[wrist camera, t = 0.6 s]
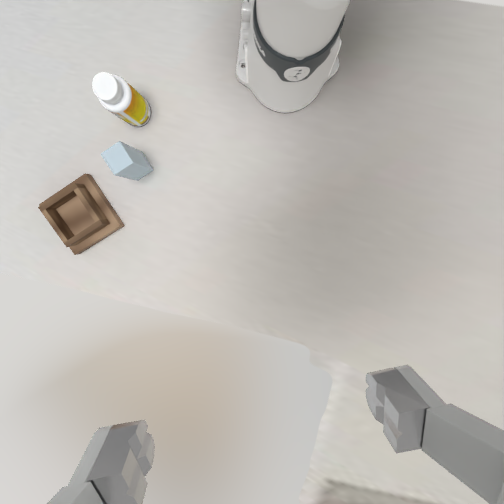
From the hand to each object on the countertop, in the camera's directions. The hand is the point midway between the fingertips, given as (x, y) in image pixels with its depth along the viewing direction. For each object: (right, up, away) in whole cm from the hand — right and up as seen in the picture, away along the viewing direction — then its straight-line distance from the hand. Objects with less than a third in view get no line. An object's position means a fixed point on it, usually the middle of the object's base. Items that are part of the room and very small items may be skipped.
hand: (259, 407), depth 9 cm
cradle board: (-35, +13, +42) cm, 56 cm away
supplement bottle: (-23, +33, +38) cm, 55 cm away
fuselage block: (-23, +23, +40) cm, 51 cm away
